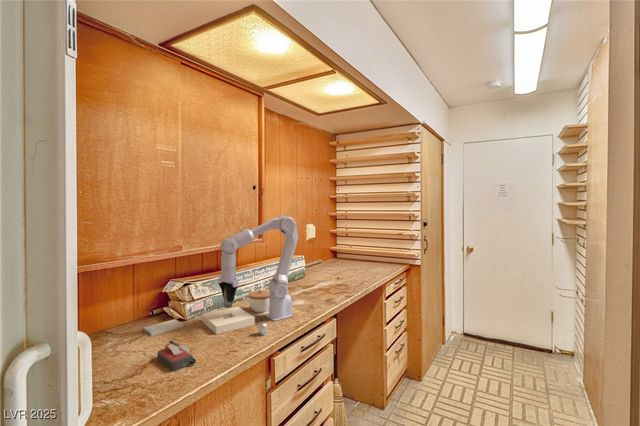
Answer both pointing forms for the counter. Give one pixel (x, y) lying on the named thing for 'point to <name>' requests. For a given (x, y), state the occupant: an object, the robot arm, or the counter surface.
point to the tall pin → (226, 304)
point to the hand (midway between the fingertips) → (228, 300)
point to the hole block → (227, 320)
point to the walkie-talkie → (175, 356)
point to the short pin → (262, 328)
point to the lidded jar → (259, 300)
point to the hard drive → (163, 327)
